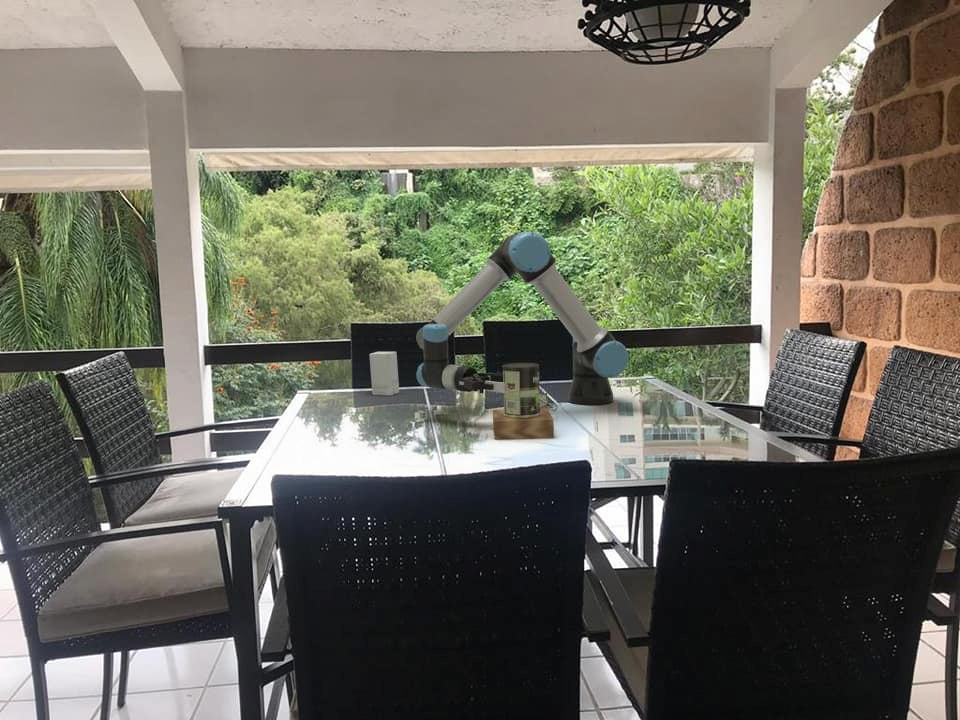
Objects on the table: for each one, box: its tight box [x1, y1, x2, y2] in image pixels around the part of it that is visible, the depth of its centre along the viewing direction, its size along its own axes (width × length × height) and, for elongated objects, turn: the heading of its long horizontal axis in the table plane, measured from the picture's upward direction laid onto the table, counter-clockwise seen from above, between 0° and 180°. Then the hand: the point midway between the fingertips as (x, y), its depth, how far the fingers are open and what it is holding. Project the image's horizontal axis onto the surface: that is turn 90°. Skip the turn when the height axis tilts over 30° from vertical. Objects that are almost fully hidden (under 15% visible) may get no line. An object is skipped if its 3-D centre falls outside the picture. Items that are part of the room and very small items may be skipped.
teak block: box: [492, 408, 555, 440], centre depth 219 cm, size 16×16×5 cm
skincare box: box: [369, 351, 400, 396], centre depth 287 cm, size 8×7×16 cm
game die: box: [539, 392, 554, 411], centre depth 237 cm, size 9×8×10 cm
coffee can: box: [501, 362, 540, 418], centre depth 218 cm, size 10×10×14 cm
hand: (519, 384), depth 218 cm, fingers open, 13 cm apart
